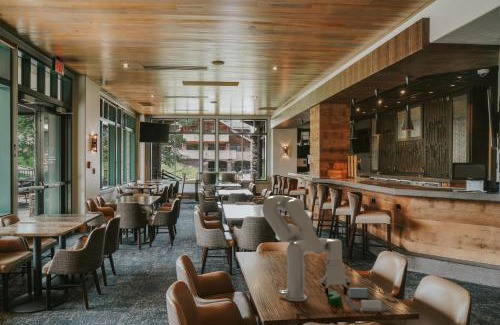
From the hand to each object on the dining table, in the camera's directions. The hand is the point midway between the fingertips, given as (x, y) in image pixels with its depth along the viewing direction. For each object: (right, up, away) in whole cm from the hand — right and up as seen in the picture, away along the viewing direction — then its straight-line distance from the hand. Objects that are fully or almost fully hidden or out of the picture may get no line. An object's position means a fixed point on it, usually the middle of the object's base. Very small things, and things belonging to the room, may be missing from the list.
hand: (336, 294), depth 220 cm
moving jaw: (+15, -5, +13) cm, 21 cm away
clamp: (-1, -6, 0) cm, 6 cm away
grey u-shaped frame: (+16, -6, -1) cm, 17 cm away
